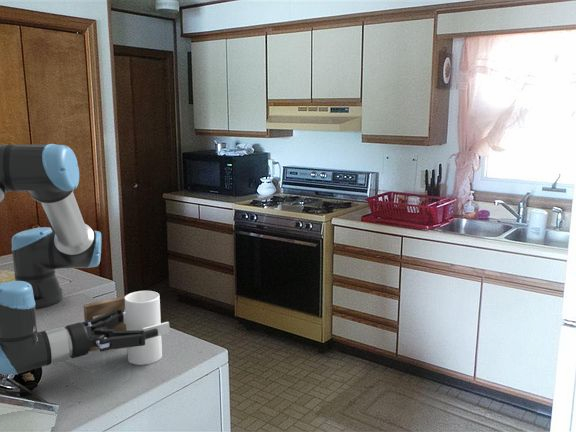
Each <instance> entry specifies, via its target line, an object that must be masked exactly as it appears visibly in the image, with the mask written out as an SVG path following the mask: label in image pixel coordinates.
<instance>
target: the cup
mask: <svg viewBox="0 0 576 432" xmlns="http://www.w3.org/2000/svg"><path fill="white" fill-rule="evenodd" d="M124 296H125V315H126V331H136V330H142V328H145V327H149V326H153V325H157V324H161V323H162V322H161V303H160V302H161V299H160V293H158V292H156V291H152V290H138V291H133V292H130V293H128V294H126V295H124ZM162 343H163V342H162V335H161V336H157V337H154V338H150V339H146V340H145V345H143V346H135V347H127V361H128V363H130V364H133V365H137V364H138V365H137V366H145V364H146V365H151V364H154V363H157V362H158V361H160V360H161V359H162V357H163V346H162Z"/></svg>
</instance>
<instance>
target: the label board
mask: <svg viewBox="0 0 576 432" xmlns="http://www.w3.org/2000/svg"><path fill="white" fill-rule="evenodd" d="M125 296H126V295H123V296H118V297H113V298H109V299H105V300H104V299H103V300H100V301H95V302H91V303H86V304H83V316H84V322H85V321H89V320H92V319H95V318H97V317H100V316H102V315H105V314H107V313H109V312H112V311H117V310H122V313H124V312H125ZM112 329H114V330H115V331H126V323H125V324H124V323H123V321H122V323H120V324H119V325H117V326H116V327H114V328H112ZM96 350H100V347H99V346H95V347H91V348H90V349H89V352H93V351H96Z"/></svg>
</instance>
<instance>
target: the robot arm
mask: <svg viewBox="0 0 576 432" xmlns="http://www.w3.org/2000/svg"><path fill="white" fill-rule="evenodd" d="M78 163H79V162H78V160H77V156H76V154H75V152H74V151H73V150H72V148H71V147H69V146H68V145H65V144H55V143H49V144H48V143H47V144H46V143H45V144H0V203H1V202H3V200H4V199H5V195H6V193H8V192H28V193H29V195H30V196H31V198H32V199H33V200H35V201H36V202H38V203H41V206H42V208H43V211H44V212H45V214H46V217H47V219H48V221H49V223H50V225H51V227H52V228H51V227H50V226H49V227H46V226H43V227H36V228H35V227H34V228H29V229H26V230H23V231H20V232H17V233H15V234H14V235H13V236H12V238H11V251H12V252H11V254H12V262H13V263H12V264H13V265H12V266H13V273H14V280H12V281H9V282H8V281H5V282H2V283H0V374H2V375H6V374H8V375H10V374H14V375H17V376H18V375H19V374H22V373H24V372H28V371H33V370H35V369H38V368H39V369H40V368H41V367H46V366H50V365H55V366H56V365H57V364H58V363H60V362H64V361H68V360H69V359H76V358H77V359H78V358H80V357H83V356H87V355H89V349H90V348H91V347H95V346H99V347H100V349H99V352H101V353H102V352H107V351H110V350H116V349H117V350H118V349H125V348H127V347H135V346H143V345H145V340H146V339H150V338H154V337H157V336H161V337H162V336H164V335H167V334H170V333H171V332H170V331H171V330H170V322H169V321H165V322H161V324H157V325H153V326H149V327H145V328H142V330H136V331H115V330H114V329H112V328H114V327H116V326H117V325H119V324H120V323H122V321H123V323H124V324H125V323H126V315H125V312H124V313H122V310H117V311H112V312H109V313H107V314H105V315H102V316H100V317H97V318H95V319H92V320H89V321H85V320H84V321H82V322H77V323H76V322H75V323H71V324H67V325H66V326H65V327H63V326H59V327H55V328H50V329H45V330H41V331H39V332H38V327H37V325H38V324H37V314H36V309H39V308H44V307H49V306H53V305H54V304H55V305H56V304H58V303H60V302H61V301H62V300H63V298H64V292H63V291H64V290H63V289H62V287H61V285H60V283H59V281H58V277H57V276H56V275H57V274H56V270H60V269H83V268H84V269H85V268H86V269H89V268H97V267H98V266H99V265H100V262H101V254H102V233H101V231H98V230H93V229H92V228H91V226H89V225H88V224H86V223H85V222H84V218H83V216H82V213H81V210H80V208H79V204H78V202H77V200H76V196H75V194H74V191H75V190H76V189H77V187H78V185H79V182H80V167H79V166H78V165H79V164H78ZM53 231H54V232H53ZM14 375H13V376H14ZM10 376H11V375H10Z"/></svg>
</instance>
